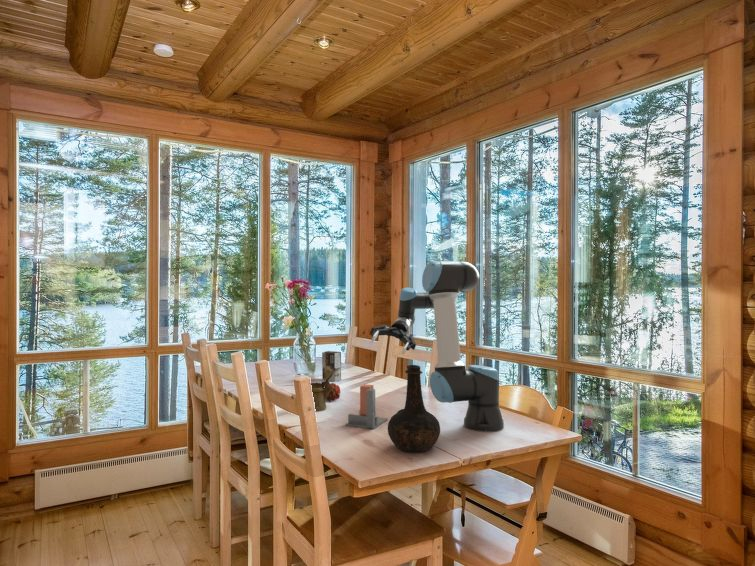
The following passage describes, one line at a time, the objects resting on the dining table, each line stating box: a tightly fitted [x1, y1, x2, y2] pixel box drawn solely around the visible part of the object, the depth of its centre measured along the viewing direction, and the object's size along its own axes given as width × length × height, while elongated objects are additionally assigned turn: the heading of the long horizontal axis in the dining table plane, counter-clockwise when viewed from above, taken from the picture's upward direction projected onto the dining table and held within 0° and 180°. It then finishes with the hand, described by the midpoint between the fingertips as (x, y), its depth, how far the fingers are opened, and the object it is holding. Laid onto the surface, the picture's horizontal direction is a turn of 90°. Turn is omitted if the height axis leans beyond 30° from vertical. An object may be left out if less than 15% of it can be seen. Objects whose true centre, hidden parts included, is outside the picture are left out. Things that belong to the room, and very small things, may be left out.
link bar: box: [359, 384, 375, 415], centre depth 207 cm, size 4×4×14 cm
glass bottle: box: [387, 364, 441, 453], centre depth 176 cm, size 18×18×28 cm
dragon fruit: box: [323, 382, 341, 401], centre depth 247 cm, size 8×8×12 cm
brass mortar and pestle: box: [310, 368, 336, 412], centre depth 229 cm, size 9×14×18 cm, turn 96°
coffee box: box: [321, 350, 342, 382], centre depth 294 cm, size 9×6×16 cm
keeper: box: [345, 389, 389, 430], centre depth 206 cm, size 15×12×15 cm
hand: (388, 345), depth 214 cm, fingers open, 13 cm apart
